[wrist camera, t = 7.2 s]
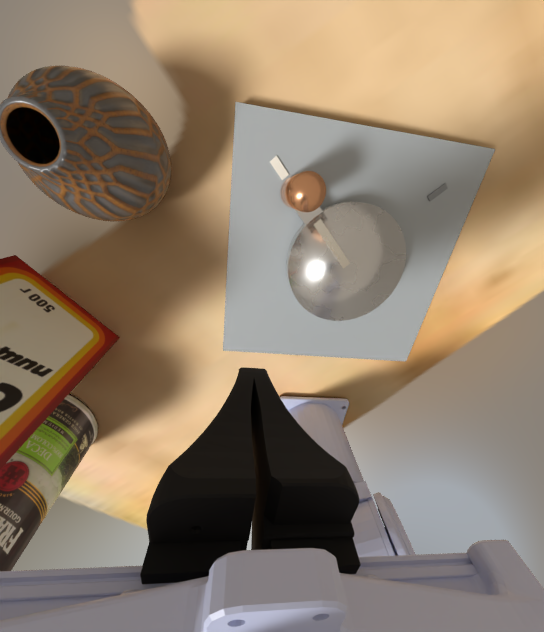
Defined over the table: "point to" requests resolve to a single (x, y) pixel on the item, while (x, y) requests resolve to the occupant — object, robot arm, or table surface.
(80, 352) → the baking soda box
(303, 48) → the table surface
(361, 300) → the dial
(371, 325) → the board
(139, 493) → the table surface
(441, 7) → the table surface
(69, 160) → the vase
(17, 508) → the coffee can
